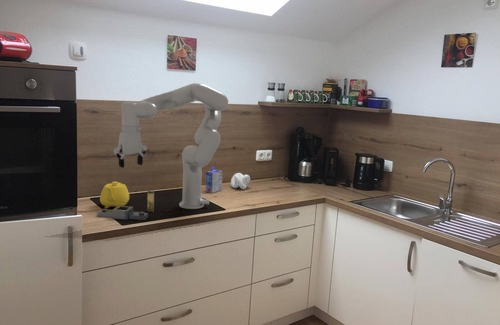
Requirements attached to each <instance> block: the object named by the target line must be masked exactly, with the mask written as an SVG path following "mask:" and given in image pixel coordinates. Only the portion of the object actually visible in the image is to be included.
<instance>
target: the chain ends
mask: <svg viewBox="0 0 500 325" xmlns="http://www.w3.org/2000/svg"><path fill="white" fill-rule="evenodd" d="M96 213H97V215H96V216H97V217H101V218H102V217H103V218H111V219H114V220H115V219H116V220H124V221H127V220H132V221H133V220H135V221H136V220H137V221H145V220H148V218H149V212H145V211H140V212H139V211H134V206H128V205H124V206H115V207H114V208H113V209H109V208H102V209H100V210H98V211H97V212H96Z"/></svg>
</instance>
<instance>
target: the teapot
mask: <svg viewBox="0 0 500 325" xmlns="http://www.w3.org/2000/svg"><path fill="white" fill-rule="evenodd" d="M99 201H100V204H101V205H102V206H104V207H103V209H110V208H111V207H117V206H126V205H127V204H128V202H129V201H130V193H129V190H128V188H127V186H126V184H124V183H122V182H118V181H112V182H111V183H106V184H105V185H104V187H103V188H102V190H101V193H100V197H99Z"/></svg>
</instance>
